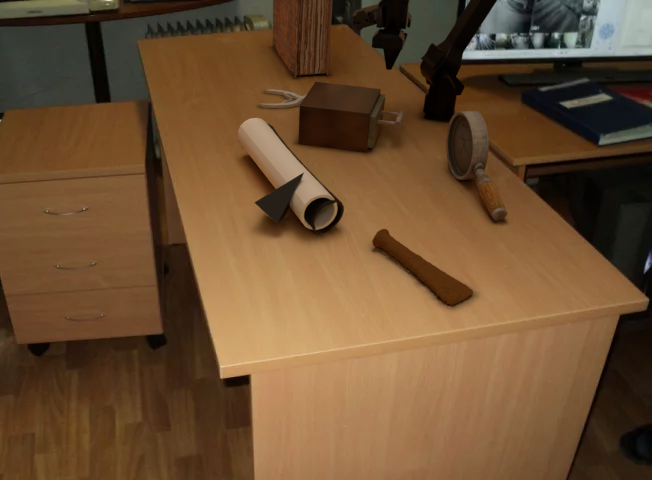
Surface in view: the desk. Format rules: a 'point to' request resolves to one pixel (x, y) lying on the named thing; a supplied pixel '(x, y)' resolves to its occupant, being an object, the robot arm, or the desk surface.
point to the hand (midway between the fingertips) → (388, 69)
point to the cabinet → (337, 116)
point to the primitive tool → (424, 269)
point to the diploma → (288, 180)
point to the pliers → (285, 103)
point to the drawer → (381, 120)
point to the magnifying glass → (472, 157)
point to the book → (303, 35)
